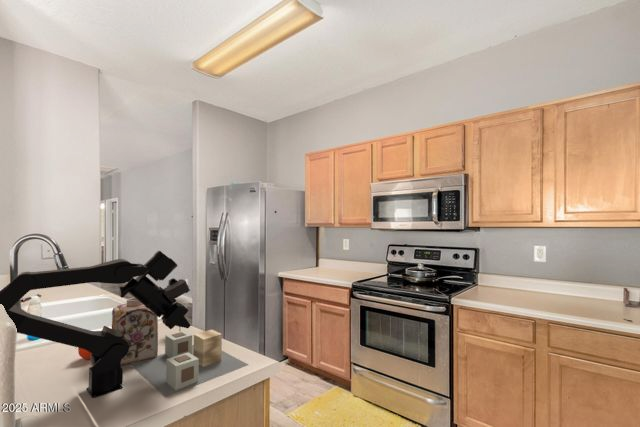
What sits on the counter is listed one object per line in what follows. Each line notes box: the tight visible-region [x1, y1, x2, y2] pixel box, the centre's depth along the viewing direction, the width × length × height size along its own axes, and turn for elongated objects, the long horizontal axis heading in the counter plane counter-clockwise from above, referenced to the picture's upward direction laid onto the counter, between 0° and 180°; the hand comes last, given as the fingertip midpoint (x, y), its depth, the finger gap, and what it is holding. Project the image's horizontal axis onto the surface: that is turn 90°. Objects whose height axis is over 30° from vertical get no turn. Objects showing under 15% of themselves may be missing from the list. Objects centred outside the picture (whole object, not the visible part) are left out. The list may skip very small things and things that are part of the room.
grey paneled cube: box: [166, 352, 199, 390], centre depth 85 cm, size 6×6×6 cm
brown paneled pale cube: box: [164, 330, 193, 358], centre depth 103 cm, size 6×6×6 cm
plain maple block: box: [193, 329, 223, 367], centre depth 98 cm, size 6×6×8 cm
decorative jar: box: [111, 297, 159, 366], centre depth 102 cm, size 12×12×18 cm
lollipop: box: [175, 294, 190, 332], centre depth 120 cm, size 6×6×15 cm
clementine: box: [75, 347, 92, 361], centre depth 99 cm, size 8×7×7 cm
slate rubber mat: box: [129, 344, 249, 398], centre depth 96 cm, size 24×26×1 cm
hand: (189, 326), depth 95 cm, fingers closed
